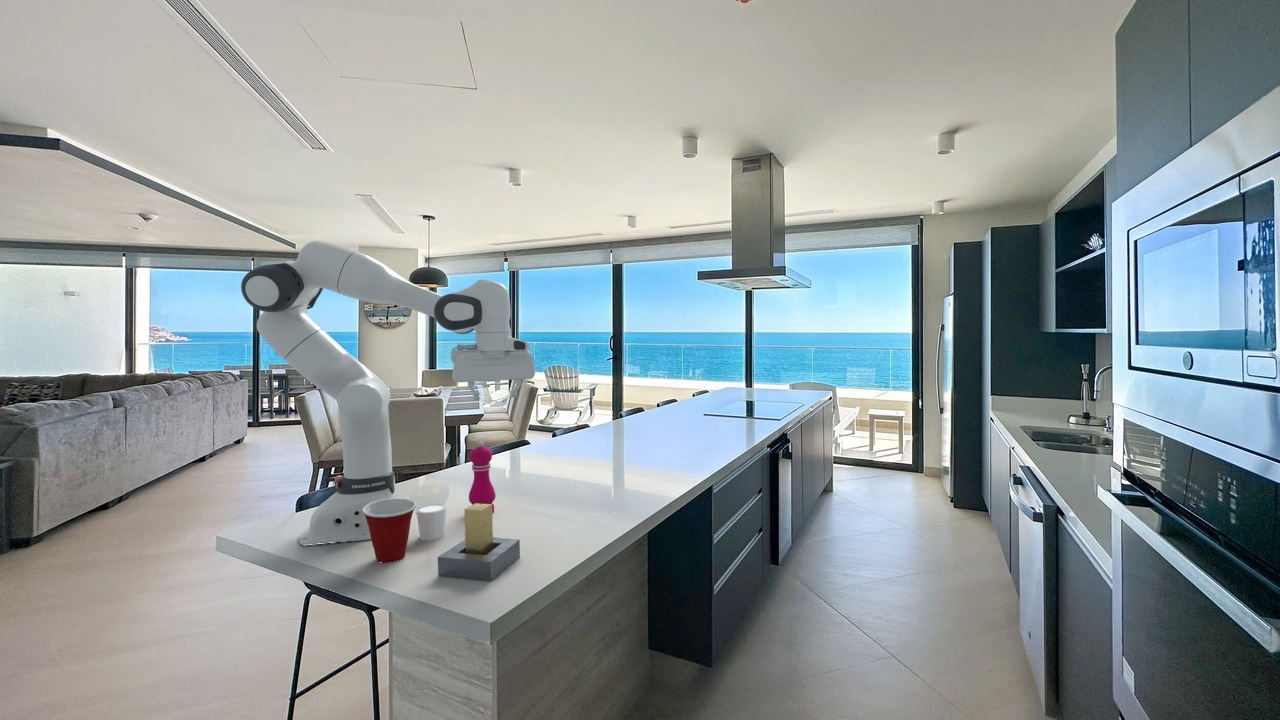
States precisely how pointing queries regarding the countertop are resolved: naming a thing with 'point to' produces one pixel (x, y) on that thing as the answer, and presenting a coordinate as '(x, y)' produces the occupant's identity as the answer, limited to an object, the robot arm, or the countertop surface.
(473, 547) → the brass post
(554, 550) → the countertop surface
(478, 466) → the pepper mill
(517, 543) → the block
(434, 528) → the white cylinder
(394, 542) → the plastic cup
